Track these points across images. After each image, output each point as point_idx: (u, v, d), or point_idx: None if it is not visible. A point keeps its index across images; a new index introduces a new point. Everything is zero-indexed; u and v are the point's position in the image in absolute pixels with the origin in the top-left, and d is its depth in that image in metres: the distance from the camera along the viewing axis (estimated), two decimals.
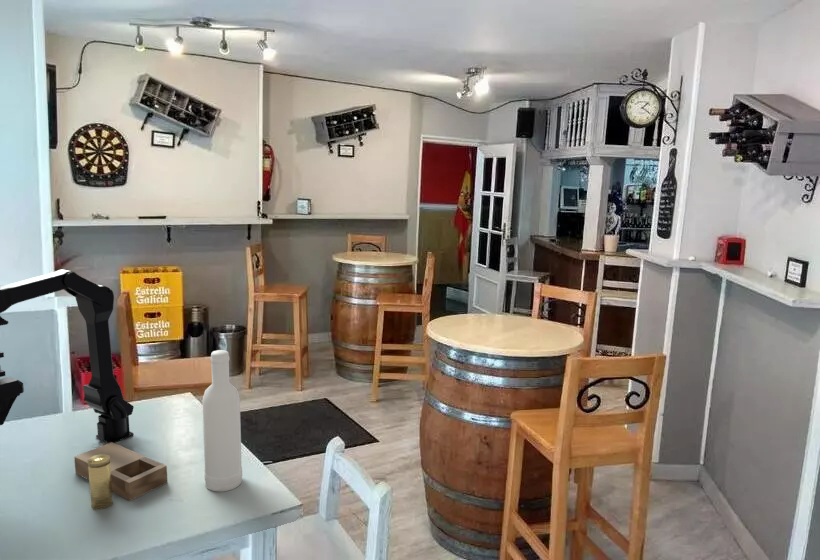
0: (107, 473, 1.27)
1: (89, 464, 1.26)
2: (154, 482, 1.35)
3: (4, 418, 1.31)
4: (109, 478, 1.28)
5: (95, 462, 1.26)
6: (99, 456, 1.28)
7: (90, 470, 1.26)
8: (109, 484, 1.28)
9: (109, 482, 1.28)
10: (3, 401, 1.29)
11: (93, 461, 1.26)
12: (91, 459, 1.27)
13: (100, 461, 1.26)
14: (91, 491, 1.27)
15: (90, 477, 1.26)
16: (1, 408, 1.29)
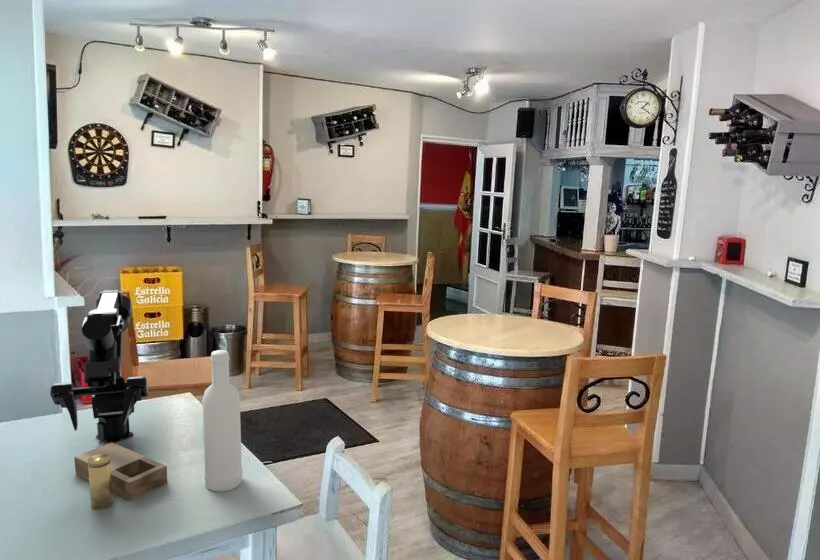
0: (107, 473, 1.27)
1: (89, 464, 1.26)
2: (154, 482, 1.35)
3: (127, 419, 1.37)
4: (109, 478, 1.28)
5: (95, 462, 1.26)
6: (99, 456, 1.28)
7: (90, 470, 1.26)
8: (109, 484, 1.28)
9: (109, 482, 1.28)
10: None
11: (93, 461, 1.26)
12: (91, 459, 1.27)
13: (100, 461, 1.26)
14: (91, 491, 1.27)
15: (90, 477, 1.26)
16: None
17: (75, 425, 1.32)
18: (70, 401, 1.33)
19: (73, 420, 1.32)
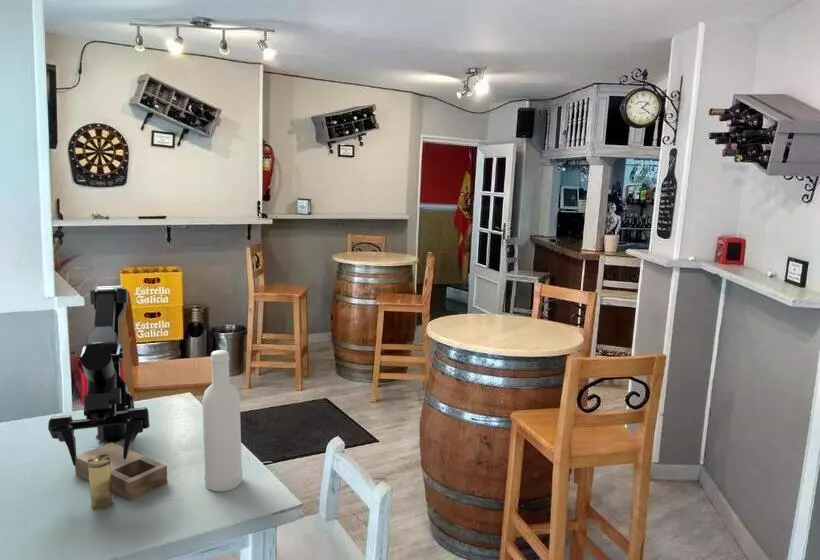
0: (107, 473, 1.27)
1: (89, 464, 1.25)
2: (154, 482, 1.35)
3: (128, 452, 1.31)
4: (109, 478, 1.28)
5: (95, 462, 1.26)
6: (99, 456, 1.28)
7: (90, 470, 1.26)
8: (109, 484, 1.28)
9: (109, 482, 1.28)
10: None
11: (93, 461, 1.26)
12: (91, 459, 1.27)
13: (100, 461, 1.26)
14: (91, 491, 1.27)
15: (90, 477, 1.26)
16: (130, 439, 1.32)
17: (74, 460, 1.27)
18: (69, 435, 1.28)
19: (72, 455, 1.27)
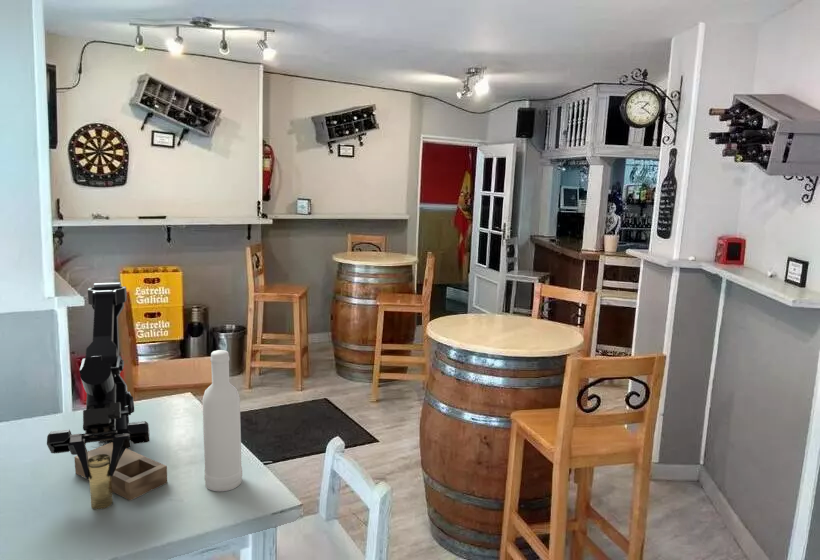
0: (107, 473, 1.27)
1: (89, 464, 1.25)
2: (154, 482, 1.35)
3: None
4: (109, 478, 1.28)
5: (95, 462, 1.26)
6: (99, 456, 1.28)
7: (90, 470, 1.26)
8: (109, 484, 1.28)
9: (109, 482, 1.28)
10: None
11: (93, 461, 1.26)
12: (91, 459, 1.27)
13: (100, 461, 1.26)
14: (91, 491, 1.27)
15: (90, 476, 1.26)
16: (117, 456, 1.30)
17: (87, 474, 1.26)
18: (81, 449, 1.27)
19: (85, 469, 1.26)
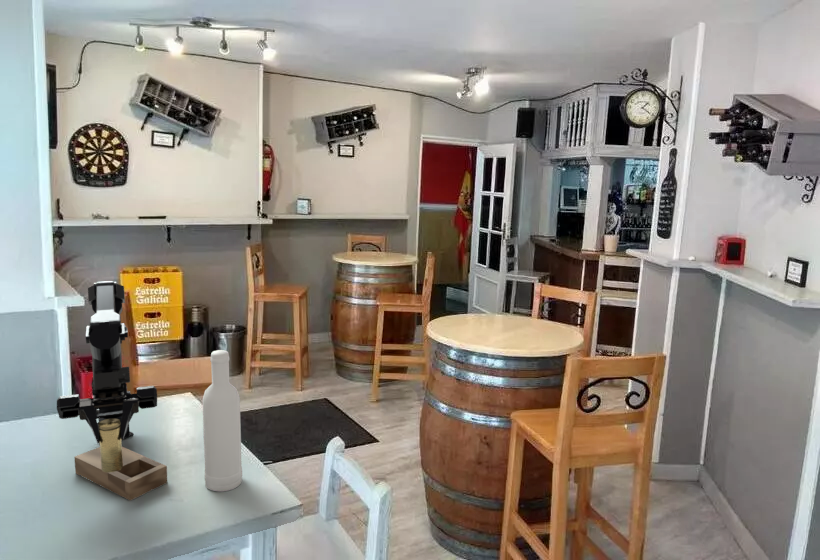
0: (118, 436, 1.28)
1: (100, 427, 1.27)
2: (154, 482, 1.35)
3: (125, 433, 1.30)
4: (120, 441, 1.29)
5: (106, 425, 1.27)
6: (109, 420, 1.29)
7: (101, 433, 1.27)
8: (120, 447, 1.29)
9: (120, 445, 1.29)
10: None
11: (104, 424, 1.27)
12: (101, 423, 1.28)
13: (111, 424, 1.27)
14: (102, 454, 1.28)
15: (101, 440, 1.27)
16: None
17: (98, 437, 1.27)
18: (91, 413, 1.28)
19: (96, 432, 1.27)
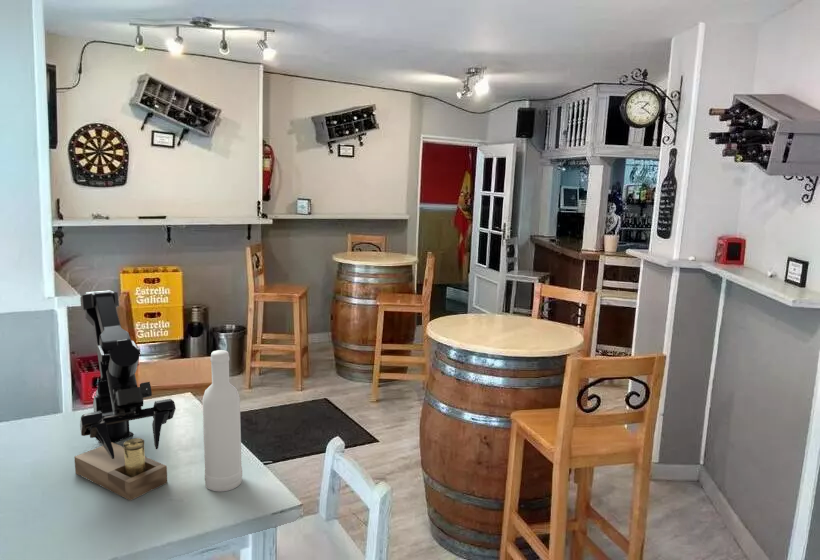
0: (143, 455, 1.35)
1: (126, 447, 1.33)
2: (154, 482, 1.35)
3: None
4: (144, 459, 1.36)
5: (132, 445, 1.33)
6: (132, 440, 1.36)
7: (127, 453, 1.33)
8: (144, 465, 1.36)
9: (144, 463, 1.36)
10: None
11: (130, 444, 1.34)
12: (126, 443, 1.34)
13: (137, 444, 1.34)
14: (128, 473, 1.34)
15: (127, 459, 1.33)
16: None
17: (113, 453, 1.32)
18: (104, 430, 1.32)
19: (110, 448, 1.32)
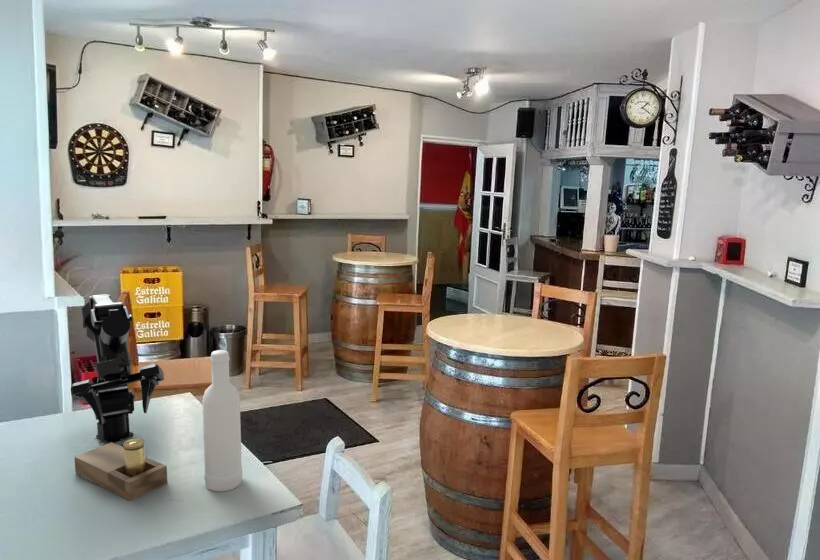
0: (143, 455, 1.35)
1: (126, 447, 1.33)
2: (154, 482, 1.35)
3: (147, 406, 1.43)
4: (144, 459, 1.36)
5: (132, 445, 1.33)
6: (132, 440, 1.36)
7: (127, 453, 1.33)
8: (144, 465, 1.36)
9: (144, 463, 1.36)
10: None
11: (130, 444, 1.34)
12: (126, 443, 1.34)
13: (137, 444, 1.34)
14: (128, 473, 1.34)
15: (127, 459, 1.34)
16: (147, 394, 1.43)
17: (100, 420, 1.39)
18: (91, 398, 1.40)
19: (98, 415, 1.39)
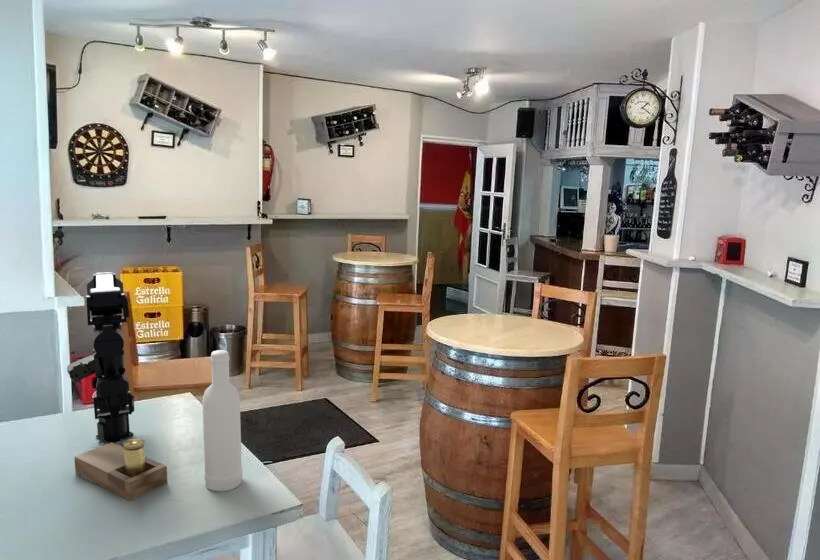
0: (143, 455, 1.35)
1: (126, 447, 1.33)
2: (154, 482, 1.35)
3: (117, 412, 1.39)
4: (144, 459, 1.36)
5: (132, 445, 1.33)
6: (132, 440, 1.36)
7: (127, 453, 1.33)
8: (144, 465, 1.36)
9: (144, 463, 1.36)
10: (115, 396, 1.38)
11: (130, 444, 1.34)
12: (126, 443, 1.34)
13: (137, 444, 1.34)
14: (128, 473, 1.34)
15: (127, 459, 1.34)
16: (113, 402, 1.38)
17: None
18: None
19: None
